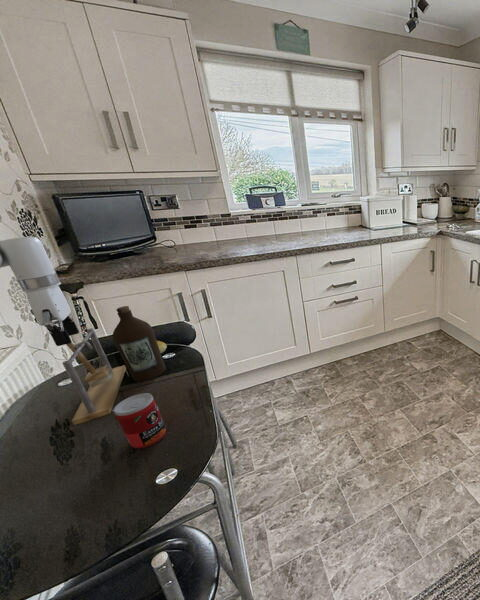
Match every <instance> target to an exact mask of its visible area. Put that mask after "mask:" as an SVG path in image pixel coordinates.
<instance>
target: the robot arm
mask: <svg viewBox="0 0 480 600" xmlns="http://www.w3.org/2000/svg"><path fill="white" fill-rule="evenodd" d="M5 267H10V269H11V271H12V273H13V275H14V277H15V278H16V281H17V283H18V285H19V286H20V289H21V290H22V292H23V293H25V294H26V297H27V301H28V303H29V306H30V308H31V311H32V314H33V315H34V318H35V319H36V322H37V324H38V325H39V326H42V327H45V328H46V330H47V331H48V334H49V335H50V336H51V338H52V340H53V342H54V343H55V346H56V347H60V346H61V347H62V346H65V345H66V344H69V343H71V342H73V341H72V339H71V337H70V336H74V335H78V334H79V333H80V330H79V328H78V326H77V324H76V323H75V321H74V317H73V316H72V315H71V313H72V309H71V306H70V305H69V302H68V300H67V298H66V296H65V294H64V292H63V291H62V290H61V287H60V285H61V284H62V282H61V279H60V278H59V276H58V274H57V272H56V270H55V268H54V266H53V264H52V262H51V260H50V257H49V255H48V254H47V252H46V249H45V248H44V245H43V243H42V241H41V240H40V239H39V238H38V237H35V236H22V237H14V238H8V239H3V240H0V269H3V268H5Z"/></svg>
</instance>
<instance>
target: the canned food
mask: <svg viewBox="0 0 480 600" xmlns="http://www.w3.org/2000/svg"><path fill="white" fill-rule="evenodd" d="M113 410H114V411H113V412H114V416H115V417H116V419H117V421H118V423H119V425H120V428H121V430H122V431H123V433H124V436H125V437H126V440H127V442H128V443H129V445H130V446H131V447H132V448H134V449H136V448H137V449H136V450H139V449H140V448H141V449H145V447H146V448H149V447H151V446H153V445H155V444H157V443H158V442H160V441H161V440H162V439H163V438H164V437H165V435H166V434H167V425H166V424H165V422H164V419H163V416H162V414H161V412H160V410H159V407H158V404H157V403H156V400H155V397H154V396H153V395H152V394H151V393H147V392H145V393H139V394H135V395H131V396H129V397H127V398H125V399H123V400H122V401H120V402H119V403H118V404H116V405H115V406H114V407H113ZM156 442H157V443H156ZM148 446H149V447H148Z"/></svg>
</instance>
